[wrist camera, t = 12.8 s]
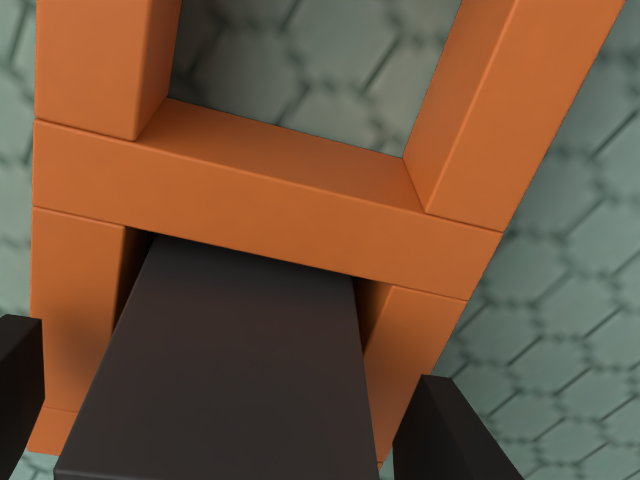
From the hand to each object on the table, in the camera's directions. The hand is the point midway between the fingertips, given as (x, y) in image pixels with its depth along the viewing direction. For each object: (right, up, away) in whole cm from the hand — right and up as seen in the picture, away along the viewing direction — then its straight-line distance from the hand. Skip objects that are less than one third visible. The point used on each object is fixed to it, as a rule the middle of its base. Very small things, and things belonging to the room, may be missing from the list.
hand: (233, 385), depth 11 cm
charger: (0, +2, +3) cm, 3 cm away
